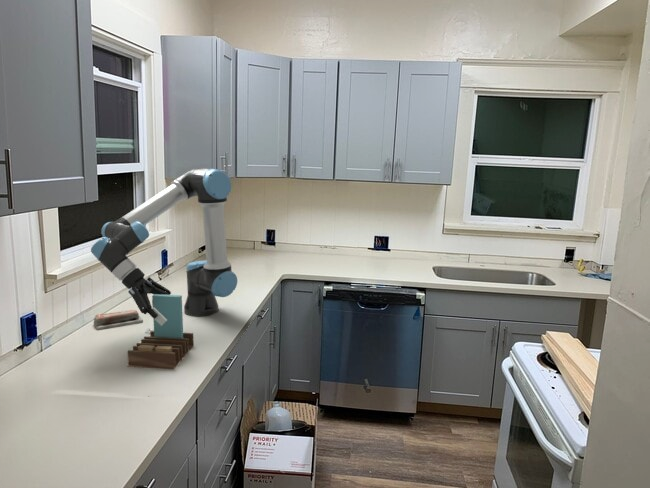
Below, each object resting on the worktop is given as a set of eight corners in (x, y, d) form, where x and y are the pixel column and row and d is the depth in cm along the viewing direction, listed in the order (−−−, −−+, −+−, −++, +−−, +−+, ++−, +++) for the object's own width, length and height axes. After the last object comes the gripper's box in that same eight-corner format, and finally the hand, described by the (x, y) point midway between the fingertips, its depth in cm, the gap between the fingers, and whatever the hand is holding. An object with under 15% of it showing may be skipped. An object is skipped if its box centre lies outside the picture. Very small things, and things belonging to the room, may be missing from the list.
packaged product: (95, 320, 190) (92, 312, 198) (96, 331, 191) (93, 323, 199) (142, 312, 200) (138, 306, 208) (143, 323, 201) (138, 316, 209)
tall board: (157, 346, 174) (154, 294, 171) (183, 347, 174) (181, 295, 170) (154, 348, 172) (152, 295, 169) (181, 349, 172) (179, 296, 168)
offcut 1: (141, 361, 162) (140, 344, 161) (155, 362, 162) (154, 345, 160) (138, 363, 160) (137, 347, 159) (153, 364, 160) (152, 348, 158)
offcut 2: (158, 362, 161) (157, 345, 160) (172, 363, 161) (172, 346, 160) (155, 364, 159) (155, 348, 158) (170, 365, 159) (169, 348, 158)
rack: (151, 346, 177) (151, 331, 176) (193, 348, 176) (193, 333, 174) (126, 369, 158) (125, 352, 157) (173, 372, 157) (172, 355, 156)
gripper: (138, 272, 182) (178, 311, 183) (103, 291, 157) (150, 336, 159) (151, 259, 180) (191, 298, 182) (118, 276, 156) (164, 321, 158)
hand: (172, 316), depth 171 cm, fingers open, 13 cm apart
